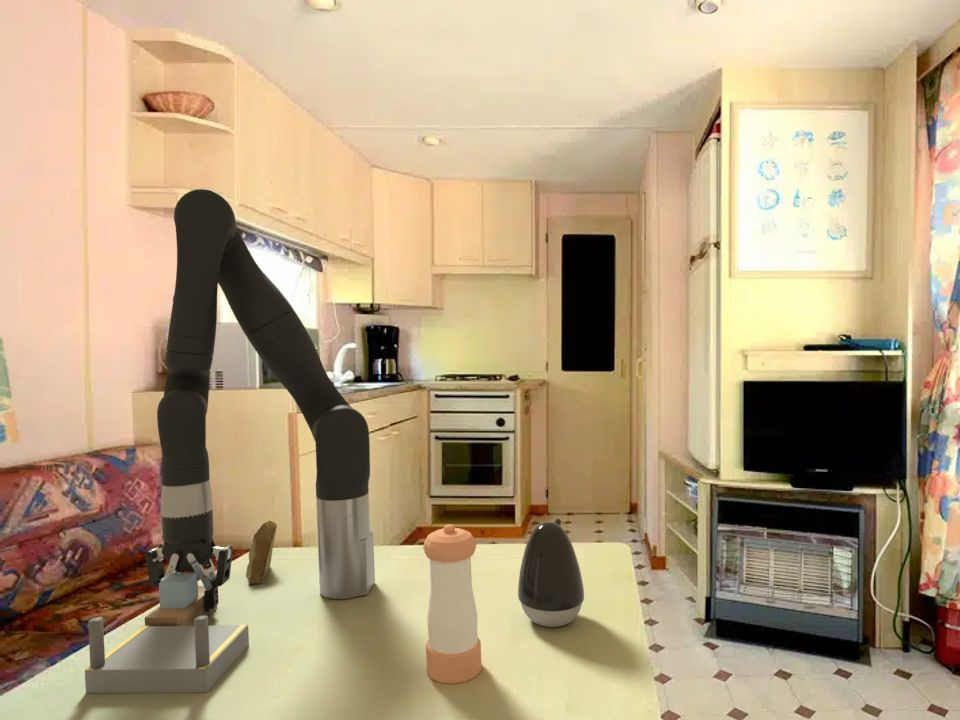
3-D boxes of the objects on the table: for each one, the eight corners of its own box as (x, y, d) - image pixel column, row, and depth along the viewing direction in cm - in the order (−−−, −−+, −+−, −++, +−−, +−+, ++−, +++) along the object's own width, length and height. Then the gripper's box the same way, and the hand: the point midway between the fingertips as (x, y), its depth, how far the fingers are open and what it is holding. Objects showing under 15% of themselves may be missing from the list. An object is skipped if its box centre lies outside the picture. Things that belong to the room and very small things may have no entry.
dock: (249, 645, 87) (246, 584, 87) (207, 692, 75) (204, 621, 75) (143, 646, 87) (140, 586, 87) (85, 693, 75) (82, 623, 75)
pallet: (188, 609, 101) (187, 586, 101) (217, 608, 101) (216, 585, 101) (145, 643, 89) (144, 617, 89) (178, 643, 89) (176, 617, 89)
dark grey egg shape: (592, 610, 94) (589, 515, 94) (574, 640, 85) (571, 535, 85) (532, 601, 98) (529, 510, 98) (509, 628, 89) (505, 528, 89)
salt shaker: (446, 650, 83) (441, 515, 83) (491, 662, 80) (486, 520, 79) (415, 675, 77) (410, 529, 77) (462, 689, 73) (457, 536, 73)
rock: (270, 575, 109) (299, 549, 118) (241, 539, 109) (272, 516, 118) (234, 604, 112) (265, 577, 121) (206, 569, 112) (239, 545, 121)
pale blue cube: (174, 597, 96) (173, 573, 96) (198, 597, 96) (197, 573, 96) (159, 608, 92) (158, 583, 92) (184, 608, 92) (183, 582, 92)
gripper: (240, 502, 100) (244, 600, 101) (158, 504, 101) (162, 602, 101) (219, 514, 93) (223, 620, 93) (130, 516, 94) (135, 622, 94)
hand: (191, 610), depth 97 cm, fingers open, 5 cm apart
